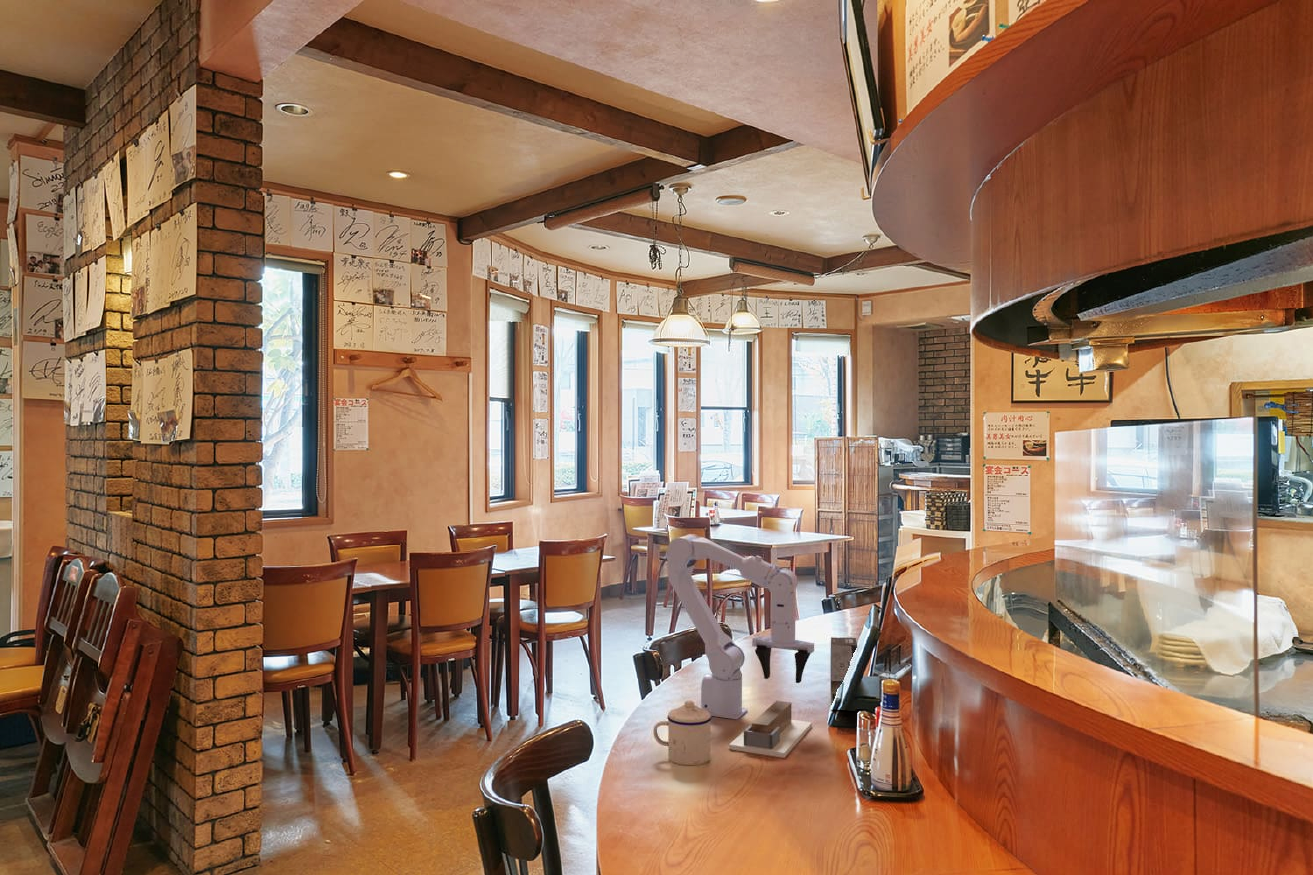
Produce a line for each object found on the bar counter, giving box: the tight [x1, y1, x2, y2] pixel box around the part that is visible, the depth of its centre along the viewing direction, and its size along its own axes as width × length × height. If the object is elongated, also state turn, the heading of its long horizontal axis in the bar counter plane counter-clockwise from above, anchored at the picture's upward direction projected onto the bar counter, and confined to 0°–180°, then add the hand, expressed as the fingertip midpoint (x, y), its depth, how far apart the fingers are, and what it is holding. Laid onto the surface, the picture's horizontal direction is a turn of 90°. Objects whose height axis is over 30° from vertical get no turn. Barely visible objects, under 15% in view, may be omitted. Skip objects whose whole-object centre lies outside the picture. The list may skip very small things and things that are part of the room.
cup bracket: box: [728, 719, 813, 759], centre depth 194 cm, size 12×22×4 cm, turn 155°
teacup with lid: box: [652, 700, 713, 766], centre depth 181 cm, size 12×9×12 cm
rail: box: [751, 700, 792, 734], centre depth 194 cm, size 4×18×4 cm, turn 155°
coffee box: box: [830, 636, 858, 706], centre depth 218 cm, size 9×6×16 cm
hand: (782, 679), depth 206 cm, fingers open, 7 cm apart
